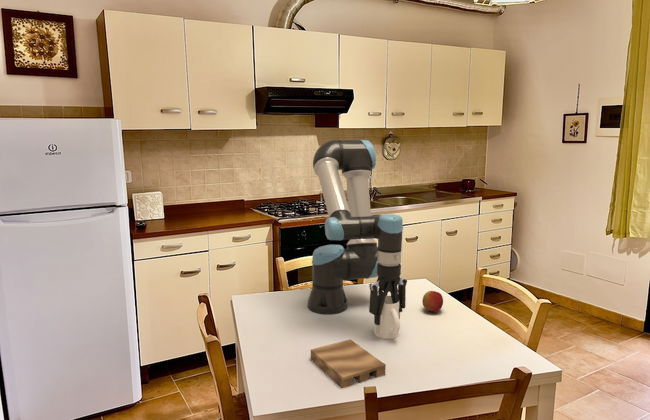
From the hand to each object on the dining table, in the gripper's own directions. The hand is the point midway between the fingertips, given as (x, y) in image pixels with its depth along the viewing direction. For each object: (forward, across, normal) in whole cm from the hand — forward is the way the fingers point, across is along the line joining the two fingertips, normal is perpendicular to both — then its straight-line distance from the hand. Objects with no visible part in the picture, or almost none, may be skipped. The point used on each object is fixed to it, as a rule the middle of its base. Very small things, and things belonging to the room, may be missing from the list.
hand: (386, 331), depth 155 cm
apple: (+2, +28, +9) cm, 30 cm away
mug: (+2, +1, 0) cm, 2 cm away
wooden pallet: (+2, -22, -10) cm, 24 cm away
